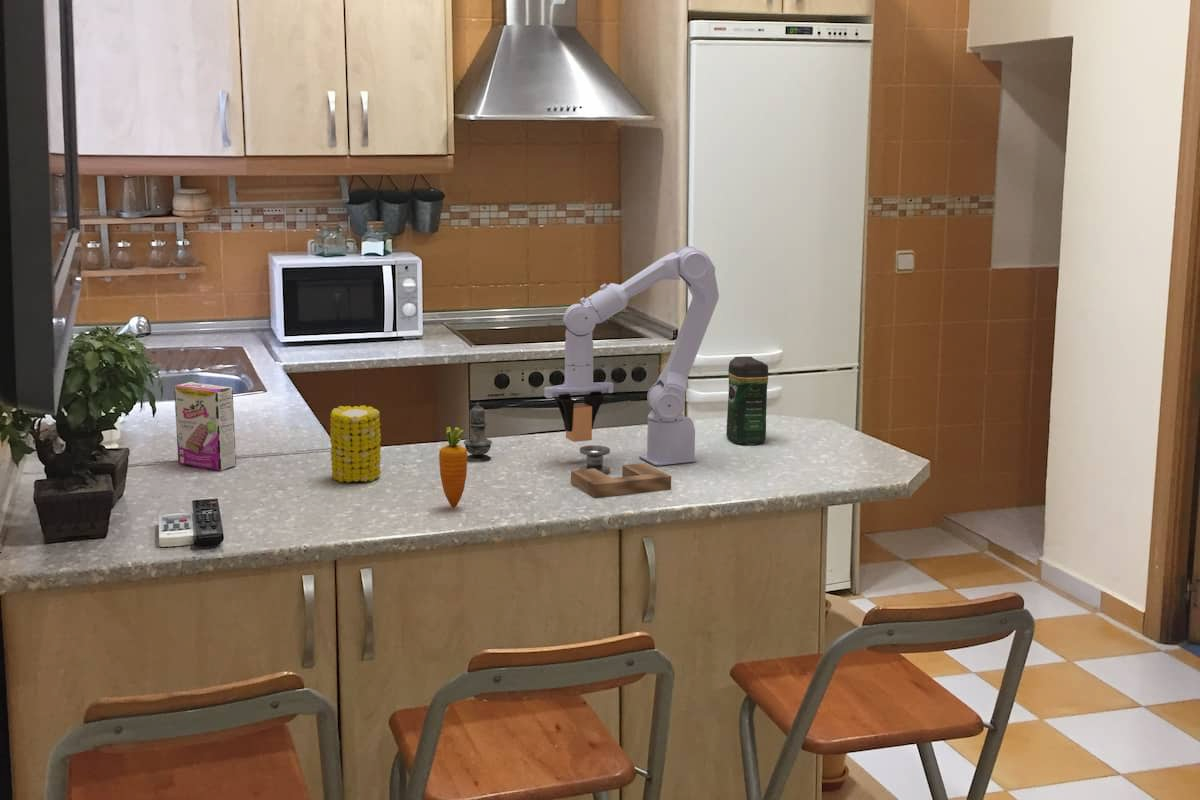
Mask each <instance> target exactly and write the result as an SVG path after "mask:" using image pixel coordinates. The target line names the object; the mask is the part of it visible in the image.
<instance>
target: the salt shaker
mask: <svg viewBox="0 0 1200 800" xmlns="http://www.w3.org/2000/svg"><path fill="white" fill-rule="evenodd" d="M485 412H486V411H485V408H484V407H483V406H480V403H479V402H478V401H477V402H476V403H475V406H472V407H471V409H470V422H469V423H468V425H469V426H470V427H469V428H470V429H469V430H470V431H469V432H470V434H469V438H468V439H466V440H464V441H463V444H464V448H465V449H466V450H467V453H468V454H469V455H467V462H472V463H483V462H484V461H485V462H489V461H490V460H492V459H491V458H492V457H491V456H489V455H488V452H489V451H490V449H491V445H492V444H493V441H492V440H491V439H489V438H487V436H486V426H487V422H486V420H485V419H486V417H485V415H486V414H485Z"/></svg>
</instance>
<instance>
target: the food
mask: <svg viewBox="0 0 1200 800" xmlns="http://www.w3.org/2000/svg"><path fill="white" fill-rule="evenodd" d="M380 413H381V412H380V411H379V410H378V409H377V408H374V407H373V406H370V405H369V406H366V405H360V406H358V405H357V406H356V405H354V406H351V405H346V406H343V405H339V406H338V407H337V408H336V407H334V408H333V409H331V411H330V415H329V416H330V419H329V421H330V423H329V424H330V440H329V441H330V445H331V448H330V455H331V456H330V461H331V475H332V478H333V480H335V481H338V482H339V483H344V482H346V483H351V482H355V483H358V482H359V481H360V482H374V481H375V480H377V479H378V477H380V475H381V472H382V471H381V466H380V465H381V459H382V456H381V447H382V446H381V445H380V443H381V442H382V438H381V434H382V433H381V427H380V426H381V422H380V420H381V417H380Z"/></svg>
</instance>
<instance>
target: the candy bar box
mask: <svg viewBox="0 0 1200 800" xmlns="http://www.w3.org/2000/svg"><path fill="white" fill-rule="evenodd" d="M173 392H174V408H175V409H174V410H175V424H176V428H175V429H176V441H177V443H176V444H177V461H178V462H177V464H178V465H179V466H186V467H191V468H199V469H204V470H205V469H206V470H210V471H211V470H212V471H218V472H223V471H226V470H229V469H231V468H234V467H237V456H236V455H237V453H236V452H237V451H236V441H235V440H236V434H235V412H234V390H233V387H231V386H225V385H217V384H210V383H209V384H208V383H203V382H202V383H200V382H195V381H188V382H184V383H180V384H179V383H178V384H175V385H174V386H173Z"/></svg>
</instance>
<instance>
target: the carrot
mask: <svg viewBox="0 0 1200 800" xmlns="http://www.w3.org/2000/svg"><path fill="white" fill-rule="evenodd" d="M463 433H464V429H460V428H459V427H454V429H453V431H452V429H451V427H450V426H448V427H446V434H445V435H446V438H447V441H448V442H447V443H448V445H444V446H443V447H441V448H440V450H439V452H438V456H439V457H438V459H439V474H440V479H441V484H442V485H441V486H442V489H443V492H444V495H445V497H446V500H447V502H448V503H449V506H451V507H452V508H453V509H454V508H456V507H457V506H458V504H459V503H460V500H461V498H462V495H463V493H464V490H465V485H466V479H467V471H468V461H467V456H468V451H467V450H466V448H465V446H462V445H461V444H459V442H460V441H461V440H462V438H459V437H460V436H461V434H463Z"/></svg>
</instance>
